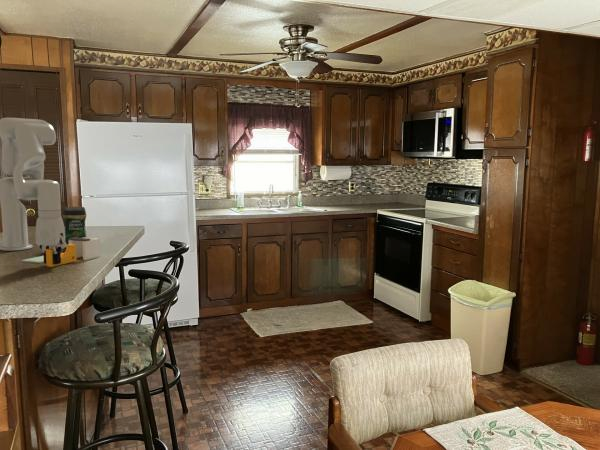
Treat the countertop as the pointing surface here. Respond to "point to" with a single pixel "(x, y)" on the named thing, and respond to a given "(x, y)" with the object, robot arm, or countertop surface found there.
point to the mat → (35, 260)
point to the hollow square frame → (86, 247)
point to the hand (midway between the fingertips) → (52, 262)
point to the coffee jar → (74, 223)
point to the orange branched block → (62, 255)
